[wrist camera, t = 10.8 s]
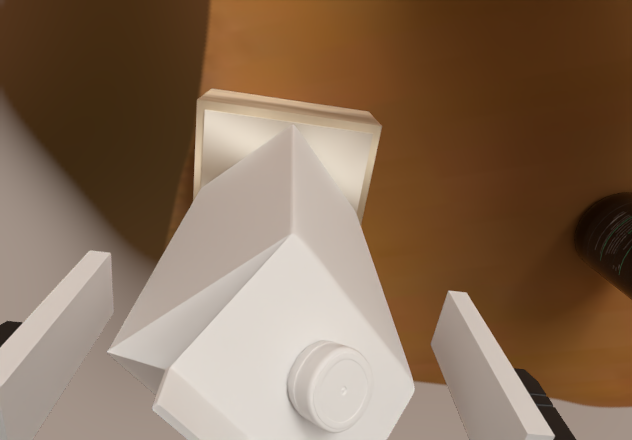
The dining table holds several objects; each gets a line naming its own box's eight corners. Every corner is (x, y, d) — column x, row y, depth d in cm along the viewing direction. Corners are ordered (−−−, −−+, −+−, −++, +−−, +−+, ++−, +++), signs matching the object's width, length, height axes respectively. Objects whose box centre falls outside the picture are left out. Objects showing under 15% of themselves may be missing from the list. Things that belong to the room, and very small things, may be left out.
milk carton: (268, 267, 29) (234, 611, 12) (200, 187, 27) (32, 477, 10) (357, 212, 28) (460, 510, 11) (293, 121, 25) (296, 322, 8)
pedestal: (212, 88, 30) (196, 100, 25) (368, 111, 31) (382, 127, 26) (204, 232, 34) (189, 266, 29) (341, 247, 35) (349, 282, 30)
